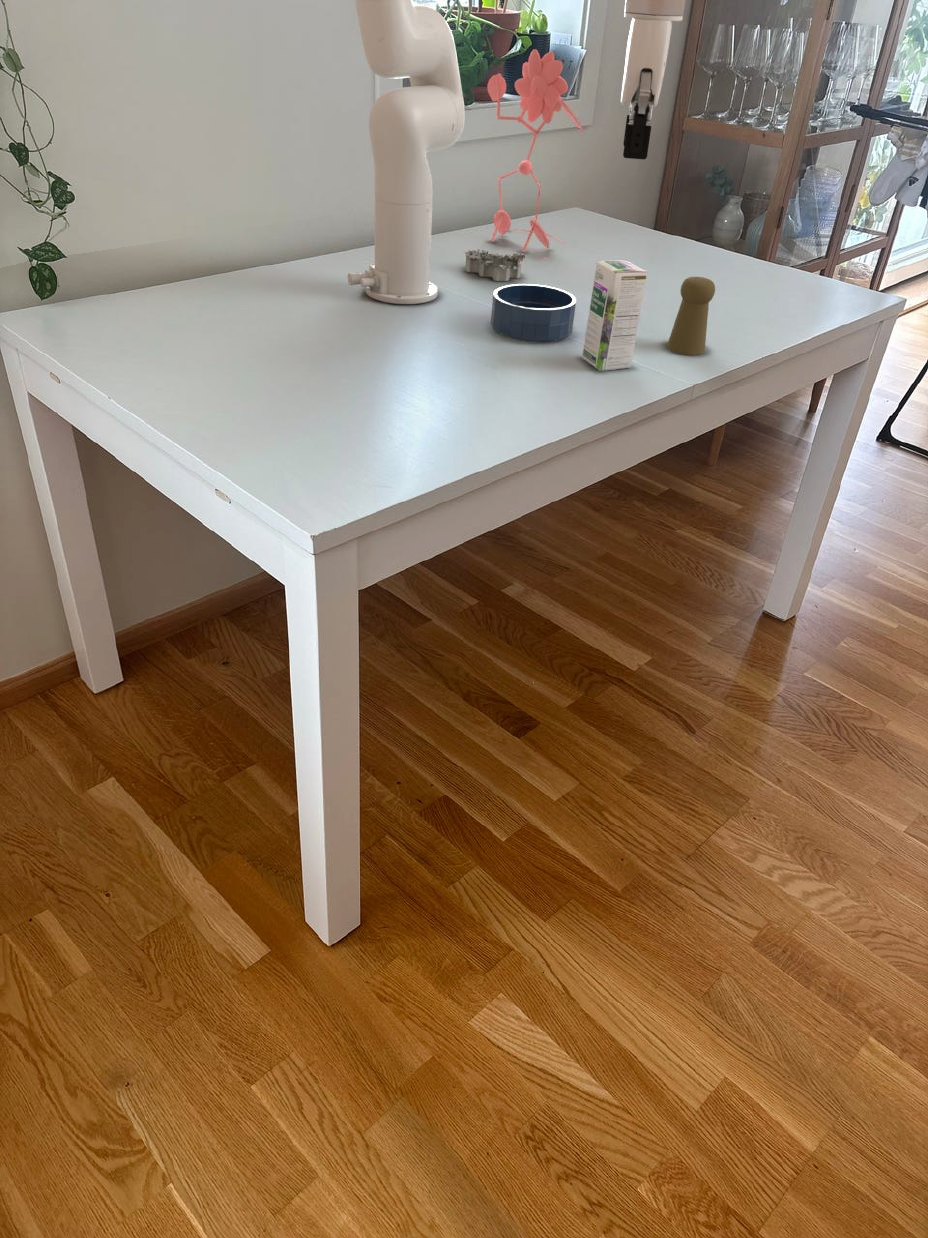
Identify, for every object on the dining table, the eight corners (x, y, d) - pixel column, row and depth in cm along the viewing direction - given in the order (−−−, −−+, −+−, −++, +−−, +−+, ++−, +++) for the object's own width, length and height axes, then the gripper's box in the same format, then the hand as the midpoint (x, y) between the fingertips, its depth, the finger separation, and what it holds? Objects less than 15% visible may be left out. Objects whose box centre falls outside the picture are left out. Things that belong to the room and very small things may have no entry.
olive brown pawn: (704, 357, 147) (720, 286, 141) (666, 352, 148) (680, 281, 142) (704, 344, 152) (719, 275, 146) (667, 339, 153) (680, 270, 146)
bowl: (516, 348, 145) (520, 313, 142) (476, 321, 154) (478, 287, 151) (587, 339, 151) (592, 305, 147) (544, 314, 160) (548, 281, 157)
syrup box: (580, 358, 143) (593, 260, 135) (613, 355, 145) (628, 258, 137) (598, 371, 139) (614, 271, 131) (632, 368, 141) (650, 269, 133)
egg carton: (526, 277, 177) (528, 255, 175) (498, 283, 173) (500, 260, 170) (485, 263, 183) (487, 241, 181) (458, 269, 179) (459, 246, 176)
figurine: (551, 262, 186) (574, 59, 166) (461, 233, 201) (471, 43, 180) (599, 251, 196) (626, 57, 175) (509, 224, 210) (525, 42, 189)
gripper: (625, 1, 128) (608, 141, 137) (625, 5, 114) (606, 160, 123) (681, 5, 127) (659, 145, 137) (687, 9, 113) (663, 165, 123)
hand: (634, 152), depth 130 cm, fingers open, 9 cm apart
